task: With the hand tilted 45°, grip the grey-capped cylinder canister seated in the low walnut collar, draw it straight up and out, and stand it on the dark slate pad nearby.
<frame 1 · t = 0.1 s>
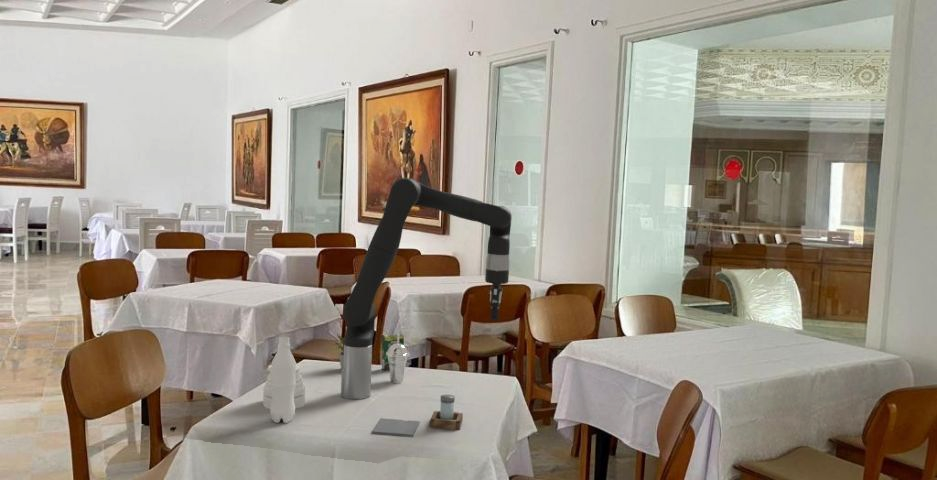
hand: (494, 317, 250), 29 cm above the table, tool pointing down, fingers open, 8 cm apart
coffee box: (392, 369, 292), on the table
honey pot: (284, 404, 245), on the table
house plant: (345, 369, 290), on the table
grey-capped cylinder canister: (447, 410, 232), in the walnut collar
slate pad: (396, 428, 226), on the table
water bottle: (282, 421, 228), on the table
walnut collar: (446, 424, 232), on the table
drinking straw: (397, 382, 276), on the table
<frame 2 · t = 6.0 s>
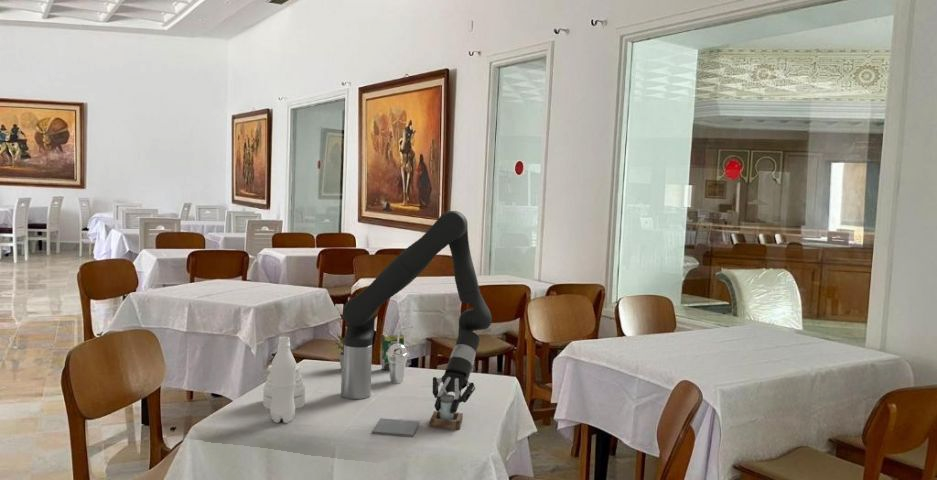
hand: (444, 410, 230), 5 cm above the table, tool tilted 45°, fingers closed on grey-capped cylinder canister, 4 cm apart
grey-capped cylinder canister: (447, 410, 232), in the walnut collar, touching gripper
everything else where it was.
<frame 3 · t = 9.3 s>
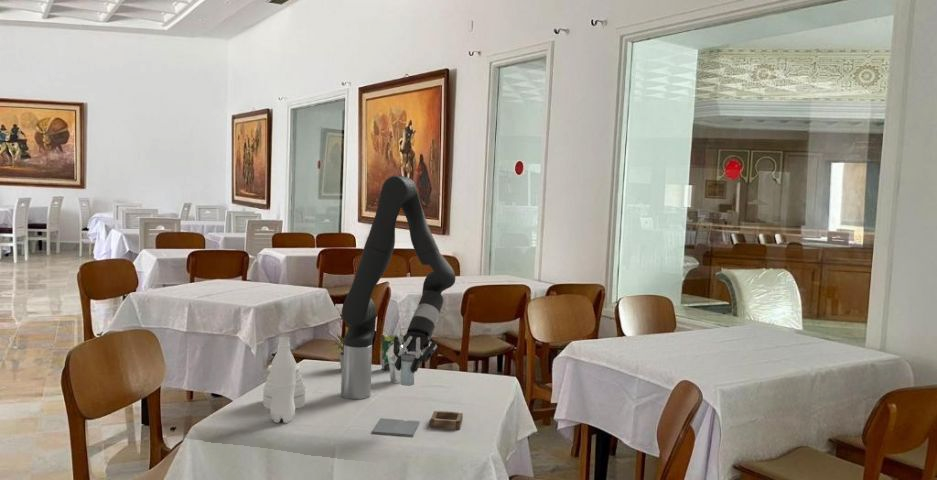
hand: (405, 370, 224), 18 cm above the table, tool tilted 45°, fingers closed on grey-capped cylinder canister, 4 cm apart
grey-capped cylinder canister: (407, 369, 226), point 17 cm above the table, touching gripper
everything else where it was.
when the fingers open (7 cm above the table, at t = 12.5 s): grey-capped cylinder canister drops 1 cm, resting on slate pad.
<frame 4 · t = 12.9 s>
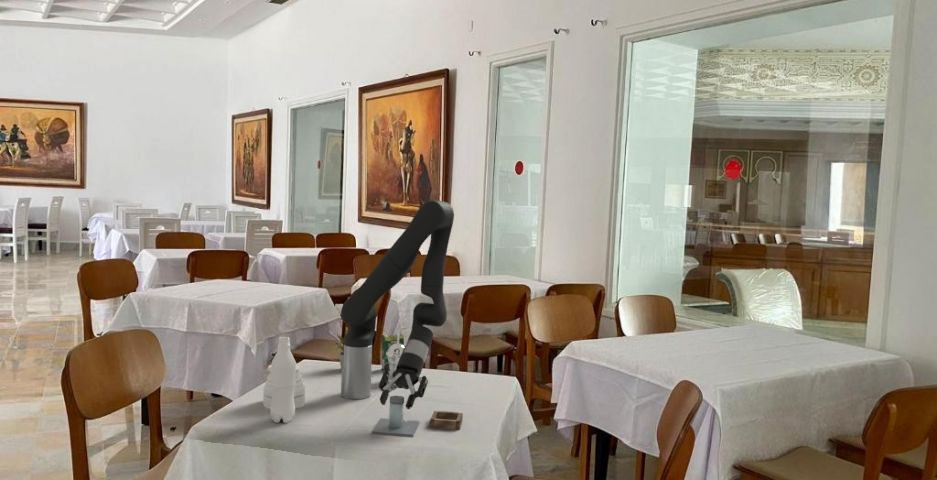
hand: (394, 405, 224), 7 cm above the table, tool tilted 45°, fingers open, 7 cm apart
grey-capped cylinder canister: (396, 411, 226), on the slate pad, point 5 cm above the table
everything else where it was.
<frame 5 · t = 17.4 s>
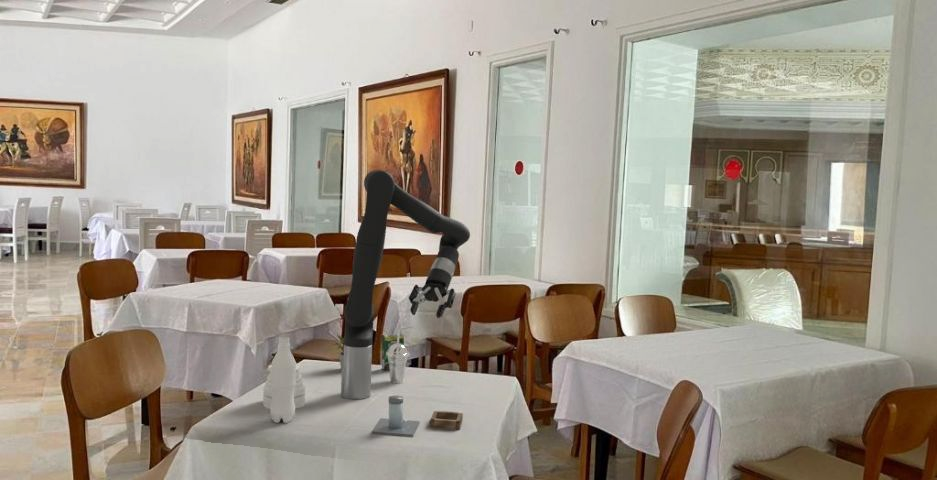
hand: (425, 315, 241), 31 cm above the table, tool tilted 45°, fingers open, 8 cm apart
nothing on the table moved.
at the end: grey-capped cylinder canister inside the target area on the slate pad (0.1 cm from its centre), point 4.9 cm above the slate pad's base; grey-capped cylinder canister tilted 2°; the gripper is holding nothing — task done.
